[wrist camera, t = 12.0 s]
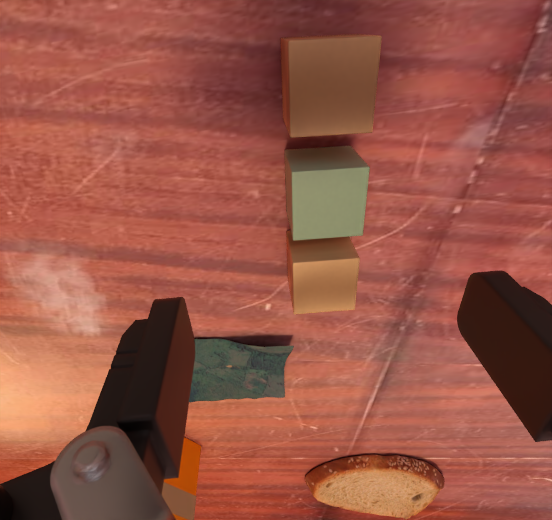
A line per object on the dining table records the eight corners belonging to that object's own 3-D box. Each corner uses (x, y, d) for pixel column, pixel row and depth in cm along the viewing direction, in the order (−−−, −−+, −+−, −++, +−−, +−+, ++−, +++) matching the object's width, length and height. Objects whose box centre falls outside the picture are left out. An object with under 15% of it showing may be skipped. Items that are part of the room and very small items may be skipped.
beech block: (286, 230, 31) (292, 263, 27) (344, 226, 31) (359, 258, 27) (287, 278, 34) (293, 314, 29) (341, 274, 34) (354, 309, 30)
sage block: (284, 149, 27) (291, 171, 23) (350, 145, 27) (369, 166, 23) (286, 210, 30) (292, 240, 26) (346, 206, 30) (362, 235, 26)
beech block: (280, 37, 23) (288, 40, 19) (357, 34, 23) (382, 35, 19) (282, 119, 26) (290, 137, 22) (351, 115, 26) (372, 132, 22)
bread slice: (296, 472, 52) (299, 500, 49) (415, 429, 48) (427, 457, 45) (344, 517, 61) (350, 543, 58) (448, 483, 58) (460, 510, 54)
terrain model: (171, 388, 40) (168, 403, 39) (165, 335, 36) (162, 348, 35) (286, 386, 42) (287, 400, 40) (291, 335, 38) (294, 347, 36)
